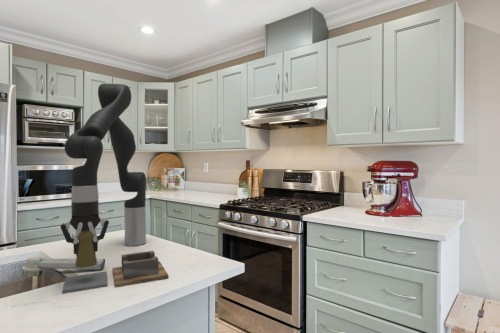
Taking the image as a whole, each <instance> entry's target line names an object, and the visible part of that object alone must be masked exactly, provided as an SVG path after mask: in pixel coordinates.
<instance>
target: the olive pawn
mask: <svg viewBox="0 0 500 333" xmlns="http://www.w3.org/2000/svg"><path fill="white" fill-rule="evenodd" d="M92 232H93V231H92ZM92 232H91V231H90V230H84V231H81V232H80V233H79V235H78V237H77V238H78V244H79V248H78V255H77V256H76V265H75V266H76V267H79V268H83V267H90V266H93V265H96V264H97V260H96V258H97V254H96V252H95V253H94V248H93V238H94V235H93V233H92Z"/></svg>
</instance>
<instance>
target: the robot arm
mask: <svg viewBox="0 0 500 333" xmlns="http://www.w3.org/2000/svg"><path fill="white" fill-rule="evenodd" d="M97 98H98V101H99V104H100V108H101V109H100V108H99V109H98V110H97V111H95V112H94V113H92V114H91V115H90V116H89V118H88V119H87V120H86V122H85V124H84V125H83V126H82V127H80V128H78V129H77V130H76V131H75V132H73V133H72V134H71V135H69V137H68V138H67V139H66V141H65V143H64V151H65V154H66V155H67V156H68V158H71V159H74V160H77V159H78V160H79V159H83V160H84V159H86V161H85V163H84V164H83V165H80V166H79V165H78V166H75V167H73V169H72V170H71V194H70V196H71V197H70V200H71V218H70V221H68V222H65V223H61V225H60V226H59V227H60V230H61V231H62V234H63V236H64V238H65V241H66V243H68V244H72V245H73V255H76V257H77V255H78V248H79V244H78V242H79V241H78V238H77V237H78V235H79V233H80V232H81V231H84V230H90V231H91V232H92V231H93V232H92V233H93V235H94V238H93V248H94V253H95V254H96V252H98V250H99V249H98V248H99V246H98V244H99V241H101V240H104V238H105V236H106V232H107V230H108V226H109V223H110V221H109V219H102V218H101V217H100V215H99V198H100V196H99V189H98V172H99V171H98V170H99V166H100V162H101V159H102V156H103V152H104V144H103V141H102V140H104V138H105V136H106V135H107V133H109V137H110V143H111V147H112V150H113V154H114V158H115V161H116V166H117V170H118V171H117V174H118V178H119V179H118V180H119V184H120V189H121V190H122V192H125V193H136V195H135V196H134V197H132V198H130V199H126V200H124V202H123V204H124V205H123V206H124V210H123V211H124V213H123V214H124V245H125V246H127V247H128V246H130V247H137V246H142V245H145V244H146V243H147V231H146V230H147V220H146V212H147V211H146V198H147V197H146V196H147V195H146V192H147V190H146V189H147V177H146V174H145V173H144V172H143V171H135V172H134V171H133V172H132V171H130V172H129V171H128V166H129V164H130V161H131V160H132V158H133V156H134V155H135V153H136V150H137V146H136V141H135V136H134V133H133V131H132V130H131V129H130V127H129V126H128V125H127V124H125V122H124V121H122V119H121V118H120V116H121V115H122V114H123V113H124V112H126V110H127V109H128V108H129V106H130V104H131V101H132V92H131V89H130V87H129V86H128V85H127V84H123V83H100V84H99V86H98V89H97ZM99 223H100V227H101V231H100V234H97V232H96V228H97V227H98V225H99ZM70 226H71V227H73V229H74V230H75V234H74V237H72V236H71V234H70V231H69V229H70Z"/></svg>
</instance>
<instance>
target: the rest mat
mask: <svg viewBox="0 0 500 333" xmlns="http://www.w3.org/2000/svg"><path fill="white" fill-rule="evenodd" d="M108 282H109V281H108V273H107V271H99V272H93V273H85V274H79V275H78V274H77V275H73V276H71V275H70V276H66V277H65V280H64V283H63V287H62V291H61V294H68V292H69V293H73V292H81V291H86V290H94V289H98V288H106V287H108V286H109V285H108V284H109V283H108Z"/></svg>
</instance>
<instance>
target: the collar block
mask: <svg viewBox="0 0 500 333" xmlns="http://www.w3.org/2000/svg"><path fill="white" fill-rule="evenodd" d="M112 275H113V281H114V288H119V287H125V286H130V285H131V286H132V285H136V284H144V283H149V282H155V281H162V280H166V279H169V273H168V272H167V270H166V269H165V267H164V266H163V264H162V263H161V261H160V260H159V257H158V256H156V253H155V251H154V250H149V251H141V252H134V253H126V254H121V266H118V267H113V268H112Z"/></svg>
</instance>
